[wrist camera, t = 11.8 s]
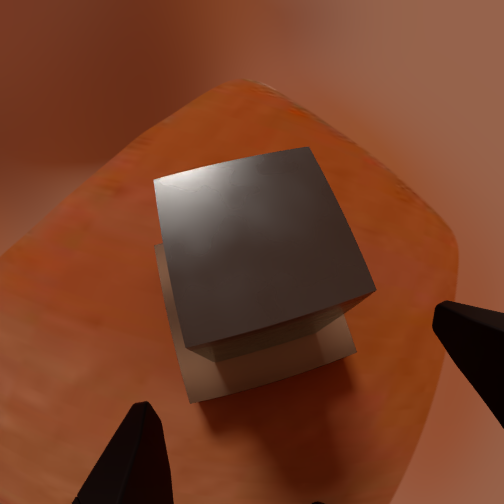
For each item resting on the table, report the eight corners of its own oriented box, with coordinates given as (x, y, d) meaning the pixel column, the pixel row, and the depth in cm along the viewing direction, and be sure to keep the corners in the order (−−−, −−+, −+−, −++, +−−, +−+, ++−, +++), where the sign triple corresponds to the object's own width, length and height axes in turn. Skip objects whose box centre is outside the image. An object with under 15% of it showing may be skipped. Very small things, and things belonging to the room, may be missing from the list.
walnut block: (342, 355, 21) (357, 352, 18) (197, 400, 19) (190, 403, 16) (295, 227, 25) (301, 208, 22) (164, 261, 23) (154, 245, 21)
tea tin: (315, 332, 18) (376, 290, 10) (214, 362, 18) (185, 347, 9) (283, 242, 21) (308, 146, 12) (190, 266, 20) (153, 179, 11)
